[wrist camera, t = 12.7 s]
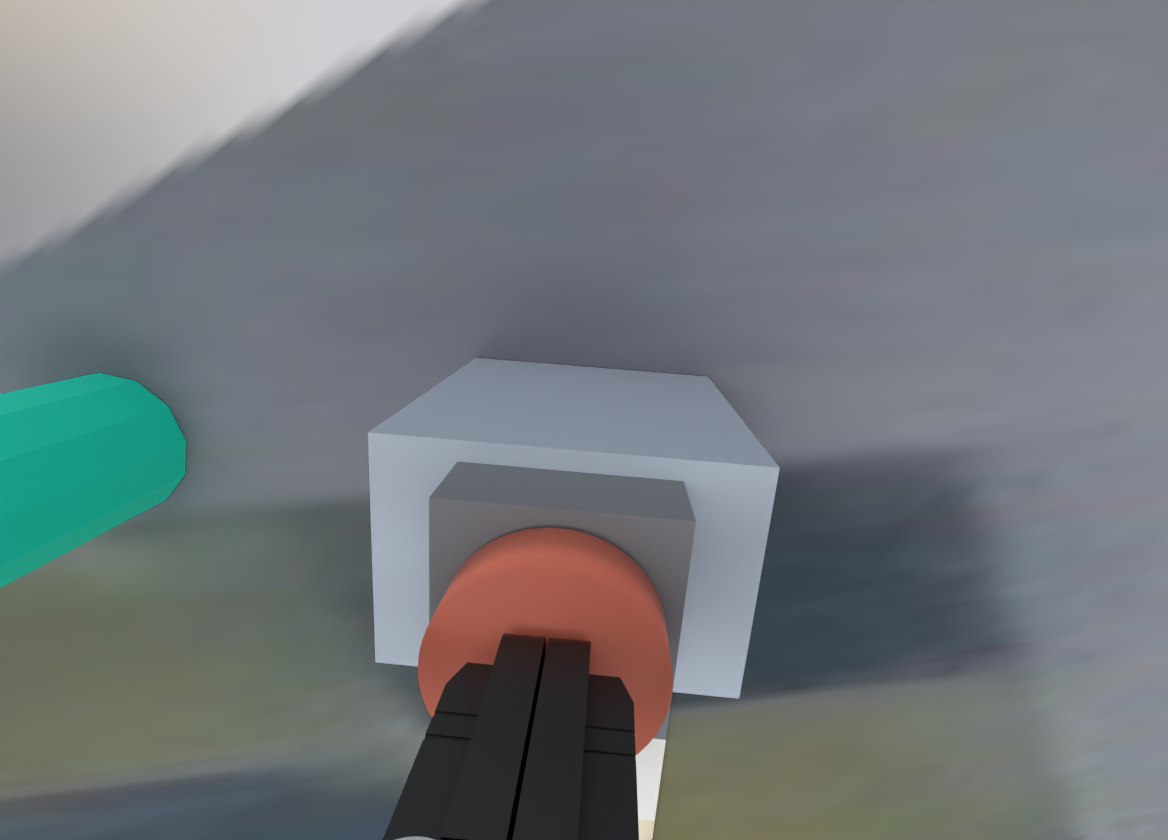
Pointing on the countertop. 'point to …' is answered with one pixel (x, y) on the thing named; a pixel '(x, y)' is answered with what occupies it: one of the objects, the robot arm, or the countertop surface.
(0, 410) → the candle
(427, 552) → the push button housing
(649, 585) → the button
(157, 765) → the countertop surface
